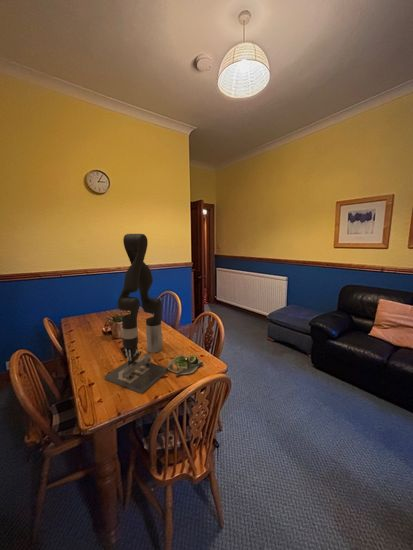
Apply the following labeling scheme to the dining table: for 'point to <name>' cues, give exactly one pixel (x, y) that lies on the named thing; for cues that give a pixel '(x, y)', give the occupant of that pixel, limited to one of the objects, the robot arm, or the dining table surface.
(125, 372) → the cable arm
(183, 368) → the salad plate
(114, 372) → the grey flat slab
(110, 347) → the dining table surface
